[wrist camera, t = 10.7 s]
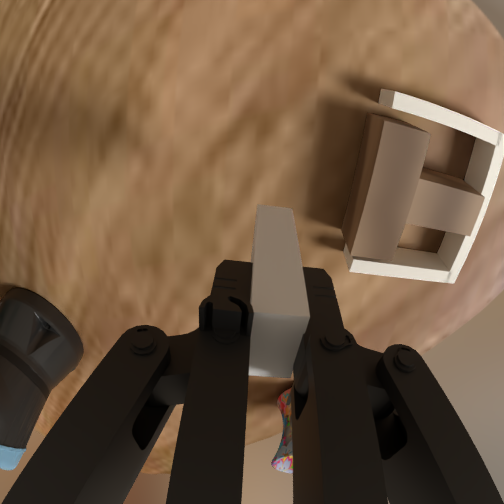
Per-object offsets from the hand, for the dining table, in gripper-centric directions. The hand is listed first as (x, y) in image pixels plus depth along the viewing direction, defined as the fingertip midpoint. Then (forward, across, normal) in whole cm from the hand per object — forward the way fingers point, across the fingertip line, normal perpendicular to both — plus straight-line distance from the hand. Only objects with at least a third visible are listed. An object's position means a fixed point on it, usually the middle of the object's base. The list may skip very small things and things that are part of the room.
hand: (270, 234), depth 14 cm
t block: (+11, +12, 0) cm, 16 cm away
